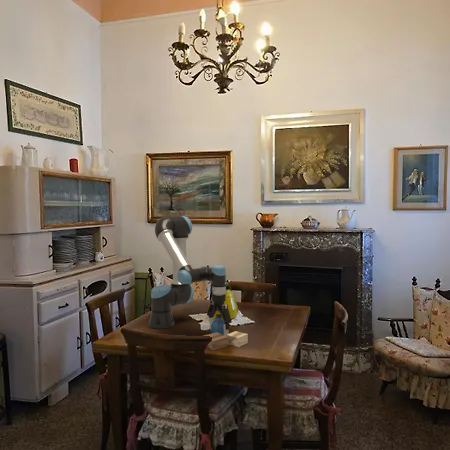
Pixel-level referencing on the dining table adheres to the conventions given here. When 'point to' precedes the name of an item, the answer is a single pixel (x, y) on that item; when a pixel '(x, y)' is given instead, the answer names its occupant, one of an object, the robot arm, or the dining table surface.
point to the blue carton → (218, 325)
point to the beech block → (237, 338)
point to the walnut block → (218, 341)
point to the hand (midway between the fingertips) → (218, 332)
